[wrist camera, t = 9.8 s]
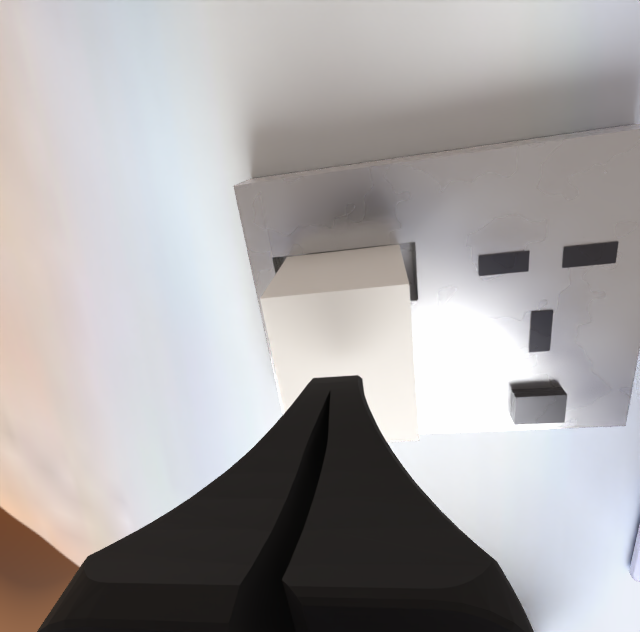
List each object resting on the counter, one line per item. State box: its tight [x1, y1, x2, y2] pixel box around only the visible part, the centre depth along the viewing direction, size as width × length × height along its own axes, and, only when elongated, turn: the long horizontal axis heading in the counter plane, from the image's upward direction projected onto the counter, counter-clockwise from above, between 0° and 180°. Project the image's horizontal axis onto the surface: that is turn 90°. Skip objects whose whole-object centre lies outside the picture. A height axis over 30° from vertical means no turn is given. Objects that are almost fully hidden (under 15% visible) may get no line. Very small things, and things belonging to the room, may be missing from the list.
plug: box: [260, 244, 419, 442], centre depth 16 cm, size 4×6×6 cm
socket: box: [234, 124, 640, 434], centre depth 18 cm, size 15×12×3 cm
